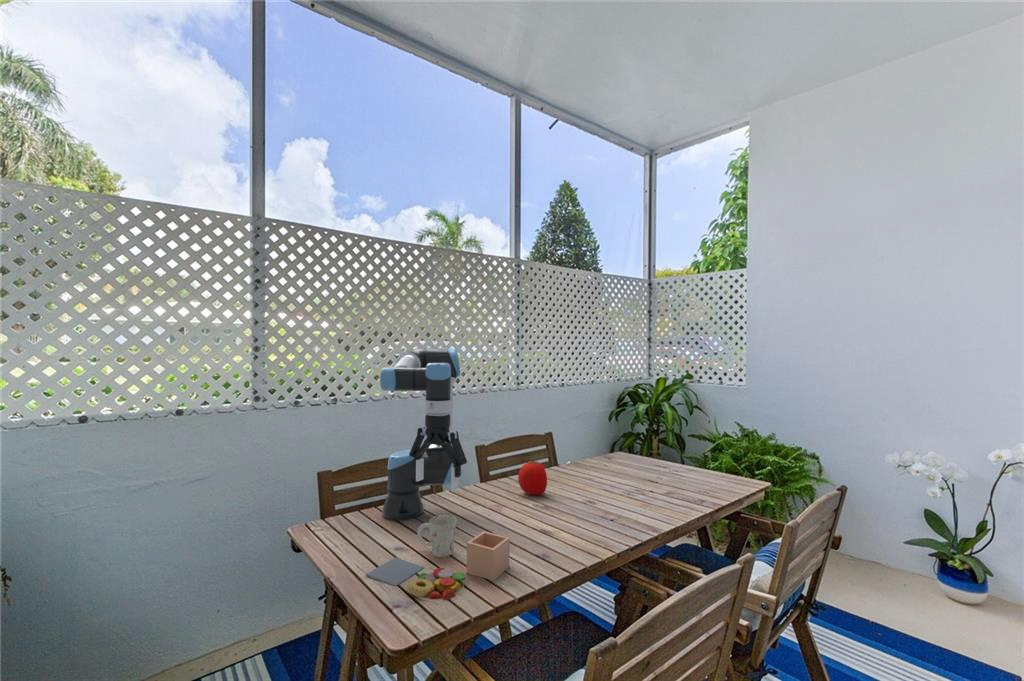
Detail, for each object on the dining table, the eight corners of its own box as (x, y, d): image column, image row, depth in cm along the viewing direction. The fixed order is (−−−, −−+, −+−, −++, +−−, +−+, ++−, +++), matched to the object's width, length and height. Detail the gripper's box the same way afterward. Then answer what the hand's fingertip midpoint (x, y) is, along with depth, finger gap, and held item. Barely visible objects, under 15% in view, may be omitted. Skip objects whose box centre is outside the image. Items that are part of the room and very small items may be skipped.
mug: (451, 561, 129) (451, 526, 129) (410, 556, 131) (411, 522, 131) (460, 548, 137) (460, 516, 137) (422, 544, 139) (422, 512, 139)
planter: (466, 575, 121) (466, 542, 121) (483, 562, 128) (484, 531, 128) (493, 584, 116) (493, 550, 117) (509, 570, 124) (509, 537, 124)
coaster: (365, 576, 120) (365, 574, 120) (395, 559, 129) (395, 557, 129) (395, 587, 114) (396, 585, 114) (424, 569, 124) (424, 567, 124)
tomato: (552, 493, 188) (552, 460, 188) (539, 501, 178) (539, 466, 178) (526, 488, 194) (527, 455, 195) (512, 495, 185) (513, 461, 185)
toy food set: (401, 599, 110) (401, 586, 110) (429, 573, 122) (429, 561, 122) (448, 611, 105) (448, 597, 105) (472, 583, 117) (473, 571, 117)
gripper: (398, 411, 137) (397, 480, 137) (464, 419, 125) (463, 494, 125) (414, 408, 144) (414, 474, 143) (478, 415, 131) (478, 487, 131)
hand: (436, 483), depth 134 cm, fingers open, 13 cm apart
